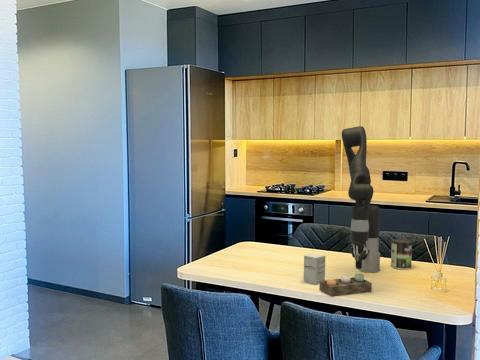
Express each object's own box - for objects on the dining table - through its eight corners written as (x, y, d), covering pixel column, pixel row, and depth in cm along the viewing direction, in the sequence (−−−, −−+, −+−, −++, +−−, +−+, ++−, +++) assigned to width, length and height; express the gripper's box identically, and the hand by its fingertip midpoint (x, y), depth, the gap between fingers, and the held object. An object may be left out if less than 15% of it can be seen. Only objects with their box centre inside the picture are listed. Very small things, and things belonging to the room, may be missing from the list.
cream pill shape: (346, 281, 211) (347, 274, 211) (351, 284, 207) (352, 277, 207) (338, 282, 210) (339, 275, 209) (343, 285, 206) (344, 277, 206)
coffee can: (415, 267, 249) (416, 240, 248) (404, 270, 243) (405, 243, 242) (397, 263, 257) (398, 237, 256) (386, 266, 251) (387, 240, 250)
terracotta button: (332, 286, 209) (333, 279, 208) (337, 289, 205) (337, 281, 205) (324, 287, 207) (325, 280, 207) (329, 289, 204) (329, 282, 203)
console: (358, 285, 217) (358, 276, 216) (371, 291, 207) (371, 282, 207) (319, 289, 210) (319, 280, 210) (331, 296, 201) (331, 287, 200)
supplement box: (302, 281, 223) (303, 254, 222) (312, 278, 228) (313, 252, 227) (315, 285, 217) (316, 257, 216) (325, 281, 223) (325, 255, 222)
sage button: (360, 280, 213) (360, 273, 213) (365, 282, 210) (365, 275, 209) (352, 281, 212) (352, 274, 212) (357, 283, 208) (358, 276, 208)
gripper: (376, 231, 204) (374, 271, 205) (358, 226, 217) (357, 264, 218) (360, 232, 202) (359, 272, 203) (344, 227, 214) (343, 265, 215)
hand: (358, 268), depth 210 cm, fingers closed
